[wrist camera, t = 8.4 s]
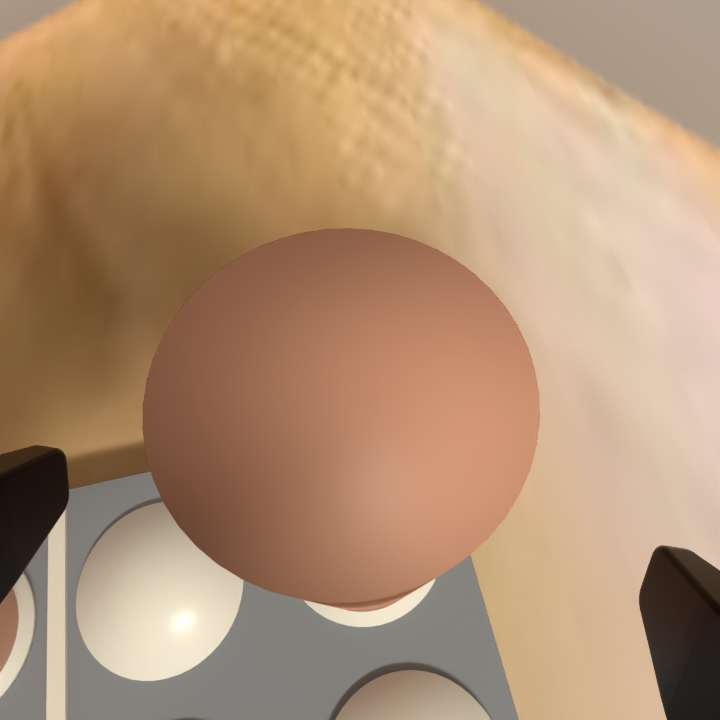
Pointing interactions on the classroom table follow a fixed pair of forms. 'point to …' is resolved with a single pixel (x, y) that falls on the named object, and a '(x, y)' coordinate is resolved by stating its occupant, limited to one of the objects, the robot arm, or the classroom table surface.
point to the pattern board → (224, 634)
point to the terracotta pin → (341, 416)
